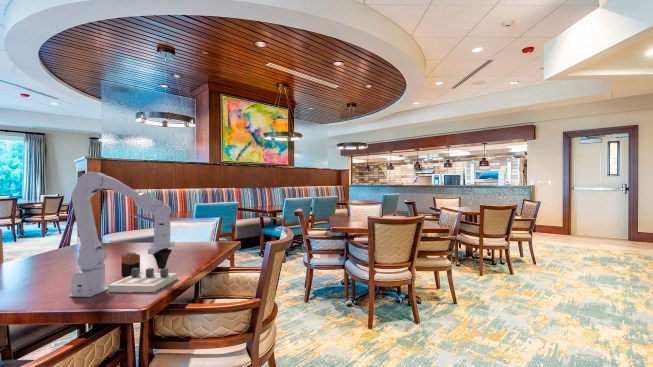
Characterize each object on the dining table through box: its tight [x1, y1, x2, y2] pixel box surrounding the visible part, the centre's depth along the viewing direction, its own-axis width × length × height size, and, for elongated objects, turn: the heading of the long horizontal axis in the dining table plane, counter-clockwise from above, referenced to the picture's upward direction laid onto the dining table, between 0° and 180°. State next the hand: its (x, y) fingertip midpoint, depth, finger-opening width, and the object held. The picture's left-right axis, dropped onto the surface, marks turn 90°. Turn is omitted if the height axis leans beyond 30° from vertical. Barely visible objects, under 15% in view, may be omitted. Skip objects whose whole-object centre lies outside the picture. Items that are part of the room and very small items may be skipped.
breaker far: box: [131, 268, 139, 276], centre depth 121 cm, size 2×2×3 cm
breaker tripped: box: [159, 267, 169, 277], centre depth 120 cm, size 2×2×3 cm
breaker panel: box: [107, 272, 178, 293], centre depth 117 cm, size 16×17×3 cm
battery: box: [120, 251, 141, 278], centre depth 130 cm, size 4×7×10 cm, turn 63°
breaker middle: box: [145, 267, 155, 277], centre depth 120 cm, size 2×2×3 cm
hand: (161, 268), depth 118 cm, fingers closed
